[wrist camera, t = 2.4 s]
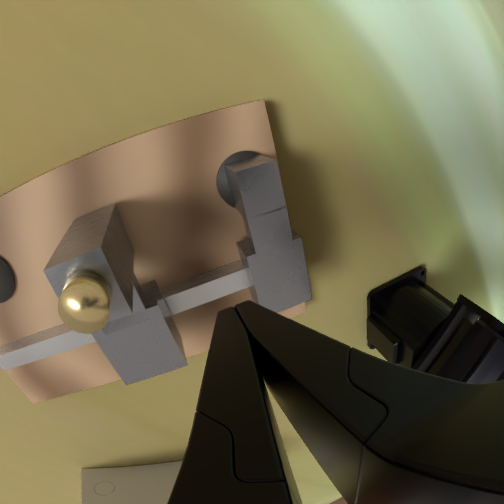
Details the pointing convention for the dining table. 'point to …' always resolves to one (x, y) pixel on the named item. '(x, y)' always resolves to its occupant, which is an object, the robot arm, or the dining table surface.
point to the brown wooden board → (130, 232)
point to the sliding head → (113, 298)
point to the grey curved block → (129, 484)
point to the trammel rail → (222, 278)
